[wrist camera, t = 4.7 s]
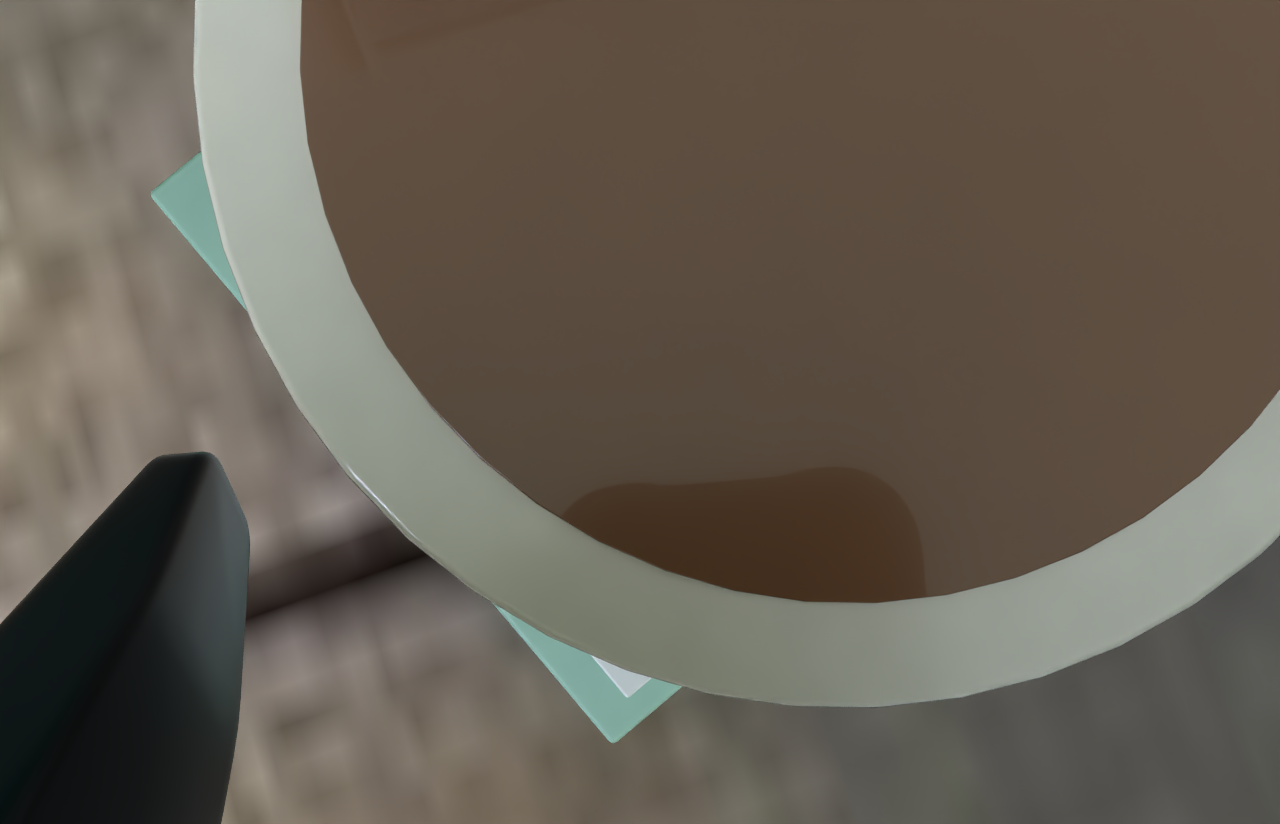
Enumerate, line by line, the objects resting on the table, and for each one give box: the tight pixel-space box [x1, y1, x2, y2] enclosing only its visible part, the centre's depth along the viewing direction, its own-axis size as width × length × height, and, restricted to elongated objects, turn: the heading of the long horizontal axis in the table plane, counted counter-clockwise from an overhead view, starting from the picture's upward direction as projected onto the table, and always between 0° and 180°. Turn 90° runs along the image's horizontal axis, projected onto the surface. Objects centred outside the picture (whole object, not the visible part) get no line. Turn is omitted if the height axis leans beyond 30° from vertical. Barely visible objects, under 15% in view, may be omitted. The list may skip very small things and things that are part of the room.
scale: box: [151, 151, 682, 743], centre depth 17 cm, size 11×11×2 cm
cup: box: [193, 0, 1280, 708], centre depth 11 cm, size 7×7×10 cm
